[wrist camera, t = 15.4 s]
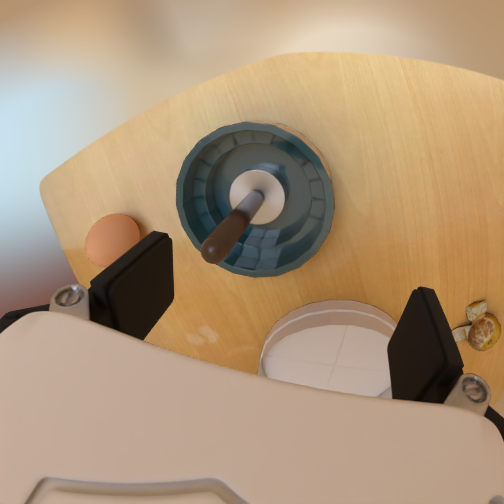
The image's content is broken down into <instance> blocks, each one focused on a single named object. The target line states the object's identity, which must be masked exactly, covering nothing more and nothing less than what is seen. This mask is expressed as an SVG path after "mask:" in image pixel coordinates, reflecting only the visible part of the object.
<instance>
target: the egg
mask: <svg viewBox="0 0 504 504" xmlns="http://www.w3.org/2000/svg"><path fill="white" fill-rule="evenodd" d="M139 241H140V232H139V228H138V226H137V224H136V223H135V222H134V220H133V219H131V218H130V217H128V216H126V215H123V214H110V215H107V216H105V217H103V218H101V219H100V220H99V221H97V222H96V223H95V224H94V225H93V227H92V228H91V230H90V232H89V233H88V235H87V238H86V242H85V251H86V255H87V257H88V259H89V260H90V261H91V262H92V263H93V264H95V265H96V266H99V267H105V268H107V267H108V266H109V265H111V264H112V263H113V262H114V261H116V260H117V259H118V258H119V257H120V256H122V255H123V254H124V253H125V252H127V251H128V250H129V249H131V248H132V247H133V246H134V245H136V244H137V243H138V242H139Z"/></svg>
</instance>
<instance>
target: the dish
mask: <svg viewBox="0 0 504 504" xmlns="http://www.w3.org/2000/svg"><path fill="white" fill-rule="evenodd" d="M396 326H397V323H396V322H395V321H394V320H393V319H392V318H391V317H390V315H389V314H387V313H385V312H383V311H381V310H380V309H378V308H376V307H374V306H372V305H369V304H365V303H361V302H357V301H353V300H327V301H321V302H316V303H310V304H307V305H305V306H302V307H300V308H298V309H295V310H293V311H290V312H289V313H288V314H287V315H285V316H284V317H283V318H281V319H280V320H279V321H277V322H276V323H275V325H274V326H273V327H272V329H271V330H270V331H269V333H268V334H267V336H266V340H265V343H264V346H263V350H262V353H261V356H260V364H259V367H258V371H257V375H260V376H264V377H268V378H272V379H277V380H281V381H286V382H290V383H295V384H300V385H305V386H310V387H315V388H321V389H326V390H332V391H338V392H344V393H351V394H357V395H364V396H372V397H380V398H388V399H392V390H391V380H390V371H389V362H388V355H387V346H388V343H389V340H390V338H391V336H392V334H393V332H394V330H395V328H396Z"/></svg>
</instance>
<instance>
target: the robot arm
mask: <svg viewBox="0 0 504 504" xmlns="http://www.w3.org/2000/svg"><path fill="white" fill-rule="evenodd" d="M90 284H91V287H90V288H89V289H88V290H87V289H86V287H84V286H82V285H78V284H70V285H66V286H63V287H61V288H59V289H58V290H56V291H55V292H54V293H53V295H52V297H51V300H50V304H47V305H42V306H37V307H31V308H26V309H21V310H16V311H11V312H8V313H6V314H5V315H4V316H3V317H2V318H1V319H0V504H504V418H503V417H502V416H501V415H499V414H498V413H497V412H496V411H495V410H494V409H492V408H491V407H490V406H489V403H490V400H491V391H490V388H489V386H488V384H487V383H486V381H485V380H483V379H482V378H481V377H480V376H478V375H476V374H473V373H466V374H464V373H463V370H462V368H463V366H464V364H463V361H462V358H461V355H460V353H459V350H458V347H457V344H456V342H455V339H454V336H453V334H452V331H451V329H450V326H449V324H448V321H447V319H446V316H445V314H444V312H443V309H442V307H441V305H440V302H439V300H438V298H437V296H436V293H435V291H434V290H433V289H430V288H426V287H421V286H420V287H418V289H417V290H416V289H414V290H413V291H412V293H411V296H410V298H409V300H408V303H407V305H406V307H405V309H404V311H403V314H402V316H401V318H400V320H399V322H398V324H397V326H396V328H395V330H394V332H393V334H392V336H391V338H390V340H389V343H388V346H387V355H388V362H389V371H390V380H391V390H392V399H388V398H380V397H372V396H364V395H357V394H351V393H344V392H338V391H332V390H326V389H321V388H315V387H310V386H305V385H300V384H295V383H290V382H286V381H281V380H277V379H272V378H268V377H264V376H260V375H255V374H251V373H247V372H243V371H240V370H236V369H232V368H228V367H225V366H221V365H218V364H214V363H211V362H207V361H204V360H201V359H197V358H194V357H191V356H187V355H184V354H181V353H178V352H175V351H172V350H169V349H166V348H163V347H160V346H157V345H154V344H151V343H149V342H146V341H143V340H144V339H145V337H146V336H147V335H148V333H149V332H150V331H151V329H152V328H153V327H154V325H155V324H156V323H157V321H158V320H159V319H160V318H161V316H162V315H163V314H164V312H165V311H166V310H167V308H168V307H169V306H170V305H171V303H172V302H173V299H174V278H173V249H172V239H171V238H169V236H168V234H167V233H162V232H158V231H153V232H151V233H150V234H149V235H147V236H146V237H145V238H143V239H142V240H141V241H139V242H138V243H137V244H136V245H134V246H133V247H132V248H131V249H129V250H128V251H127V252H125V253H124V254H123V255H122V256H120V257H119V258H118V259H117V260H116V261H114V262H113V263H112V264H111V265H109V266H108V267H107V268H106V269H105V270H103V271H102V272H101V273H100V274H99V275H97V276H96V277H95V278H94V279H93V280H91V281H90Z"/></svg>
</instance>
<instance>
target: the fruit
mask: <svg viewBox="0 0 504 504" xmlns="http://www.w3.org/2000/svg"><path fill="white" fill-rule="evenodd" d="M487 308H488V304H487V303H486V302H485V301H482V302H479V303H473V304H471V305H469V306H467V308H466V313H467V318H468V320H470V321H472V322H473V323H472V325H471V326H464V327H458V328H456V329H454V330H453V331H452V334H453V336H454V339H455V342H458V341H463V340H466V339H468V342H469V344H470V346H471V347H473V348H474V349H476V350H479V351H485V350H487V349H489V348H490V347H492V346H493V345H494V344H495V343H496V342H497V340H498V339H499V337H500V334H501V325H500V323H499V321H498V319H497V318H496V317H495V316H494V315H493V314H492V315H491V314H489V313H487V314H486V315H485V312H486V309H487Z"/></svg>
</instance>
